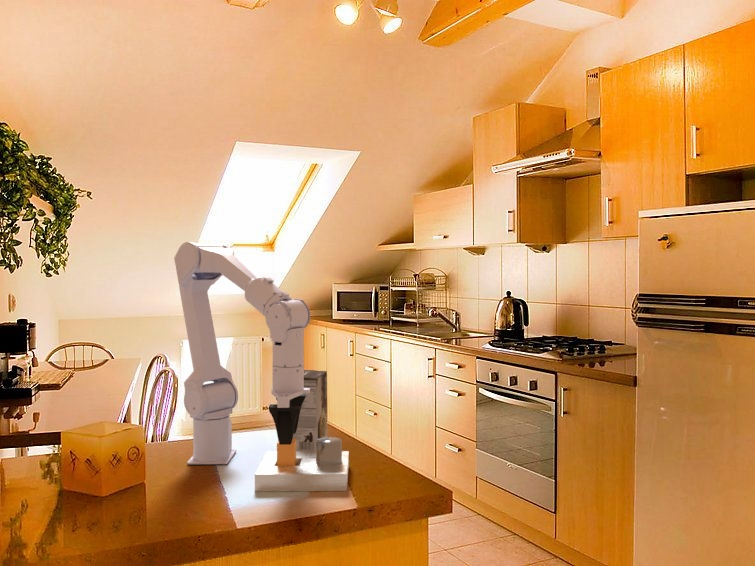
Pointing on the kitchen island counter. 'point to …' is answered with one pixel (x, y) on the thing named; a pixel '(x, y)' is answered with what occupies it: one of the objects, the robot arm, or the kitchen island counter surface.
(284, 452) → the orange rectangular block
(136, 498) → the kitchen island counter surface
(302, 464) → the white base platform
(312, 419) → the coffee box
